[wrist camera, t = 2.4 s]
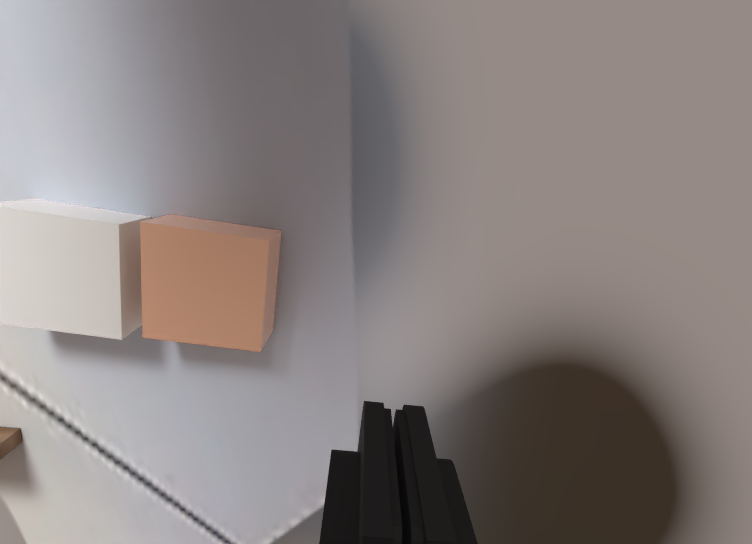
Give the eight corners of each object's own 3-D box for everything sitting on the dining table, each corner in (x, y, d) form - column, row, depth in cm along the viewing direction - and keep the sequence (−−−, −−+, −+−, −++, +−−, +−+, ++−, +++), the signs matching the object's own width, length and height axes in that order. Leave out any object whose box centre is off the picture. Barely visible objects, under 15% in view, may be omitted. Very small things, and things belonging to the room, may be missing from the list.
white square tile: (38, 197, 20) (-18, 203, 17) (153, 215, 20) (118, 224, 17) (47, 302, 22) (-3, 323, 19) (153, 316, 22) (121, 339, 19)
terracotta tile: (172, 213, 20) (139, 221, 17) (282, 229, 21) (269, 240, 18) (171, 314, 22) (142, 337, 19) (274, 327, 22) (261, 352, 19)
